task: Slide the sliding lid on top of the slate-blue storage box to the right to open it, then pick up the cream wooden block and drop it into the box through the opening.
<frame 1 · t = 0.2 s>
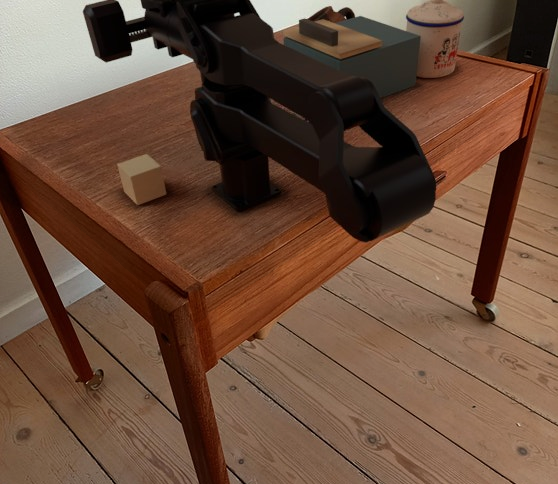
hand: (136, 5, 78), 17 cm above the table, tool horizontal, fingers open, 9 cm apart
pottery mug: (331, 48, 110), on the table
block: (145, 193, 73), on the table
sliding lid: (331, 31, 88), point 10 cm above the table, slide at 0.0 cm
teacup with lid: (432, 67, 101), on the table
box: (349, 85, 96), on the table
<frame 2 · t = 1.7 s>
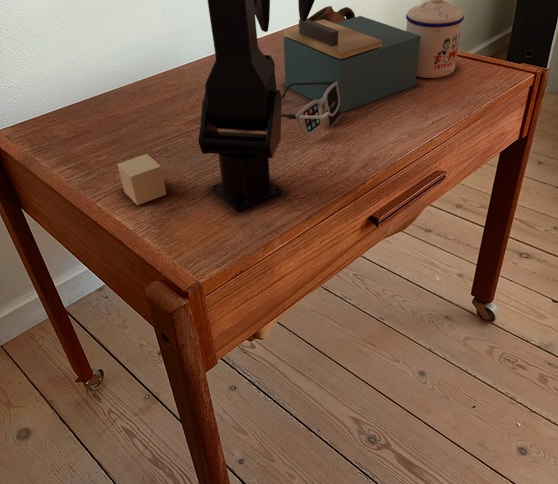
hand: (284, 25, 83), 12 cm above the table, tool pointing down, fingers open, 6 cm apart
nothing on the table moved.
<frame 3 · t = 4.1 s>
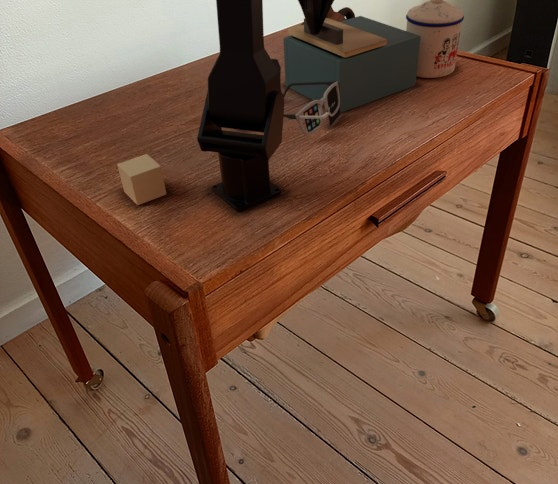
hand: (314, 34, 87), 10 cm above the table, tool pointing down, fingers closed
sliding lid: (335, 29, 88), point 10 cm above the table, slide at 0.9 cm, touching gripper
everything else where it was.
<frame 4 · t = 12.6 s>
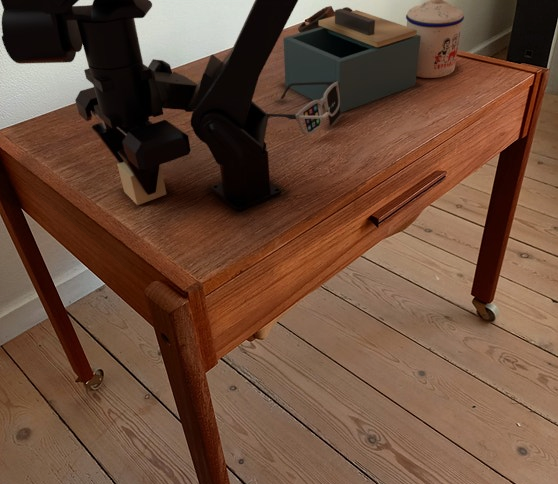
hand: (143, 186, 73), 1 cm above the table, tool pointing down, fingers closed on block, 4 cm apart
block: (145, 193, 73), on the table, touching gripper
sliding lid: (366, 20, 91), point 10 cm above the table, slide at 7.0 cm
everything else where it was.
when the fingers open (5 cm above the table, at t = 19.6 s): block drops 4 cm, resting on box.
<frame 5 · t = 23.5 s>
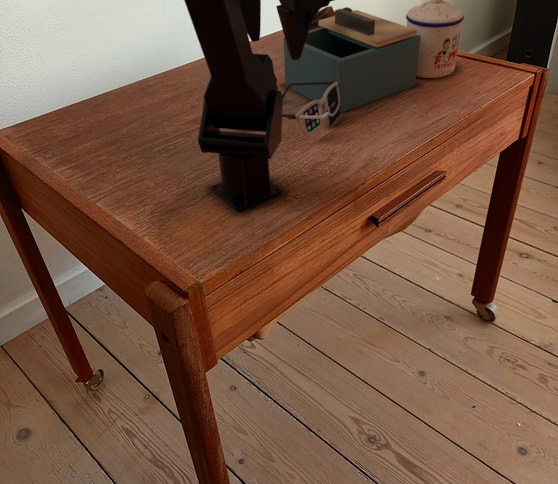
hand: (275, 49, 76), 12 cm above the table, tool pointing down, fingers open, 9 cm apart
block: (330, 87, 94), point 1 cm above the table, touching box
everything else where it was.
at the end: sliding lid pulled out 7.0 cm at the most during the clip, back to 7.0 cm at the end; block inside the target area on the box (4.1 cm from its centre), point 0.8 cm above the box's base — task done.
